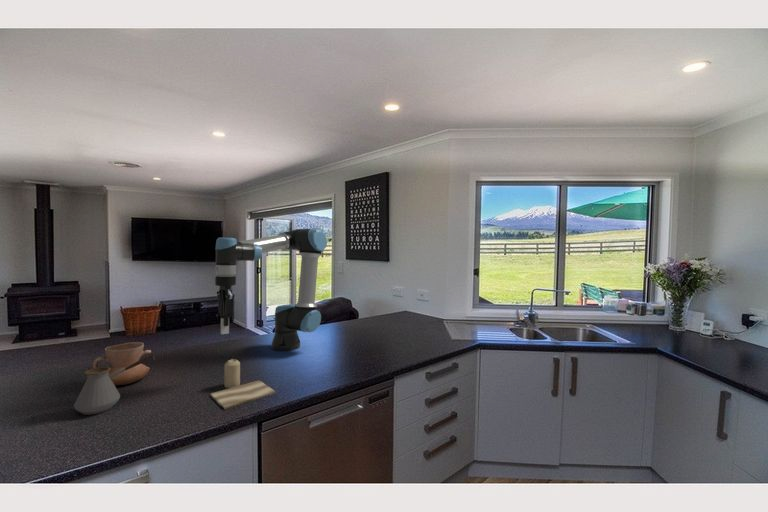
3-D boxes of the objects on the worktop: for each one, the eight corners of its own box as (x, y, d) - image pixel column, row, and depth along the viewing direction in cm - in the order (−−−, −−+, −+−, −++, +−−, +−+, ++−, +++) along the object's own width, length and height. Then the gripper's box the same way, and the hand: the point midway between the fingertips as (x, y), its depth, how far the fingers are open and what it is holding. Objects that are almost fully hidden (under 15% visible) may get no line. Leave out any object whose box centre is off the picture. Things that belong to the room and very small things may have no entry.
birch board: (210, 395, 118) (210, 393, 118) (259, 382, 131) (259, 380, 131) (224, 409, 108) (224, 407, 108) (275, 393, 121) (275, 391, 121)
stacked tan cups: (152, 371, 140) (152, 338, 140) (150, 383, 128) (149, 347, 127) (97, 380, 130) (96, 345, 130) (89, 394, 118) (88, 355, 118)
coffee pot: (72, 421, 99) (72, 373, 99) (74, 407, 108) (74, 362, 108) (157, 401, 113) (157, 358, 113) (153, 390, 122) (153, 350, 122)
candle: (224, 389, 124) (224, 363, 124) (224, 383, 129) (224, 358, 129) (240, 386, 126) (240, 361, 126) (239, 381, 131) (239, 356, 131)
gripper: (210, 274, 134) (209, 331, 135) (221, 277, 125) (220, 338, 125) (229, 274, 140) (228, 329, 140) (241, 276, 130) (240, 335, 131)
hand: (224, 333), depth 133 cm, fingers closed
